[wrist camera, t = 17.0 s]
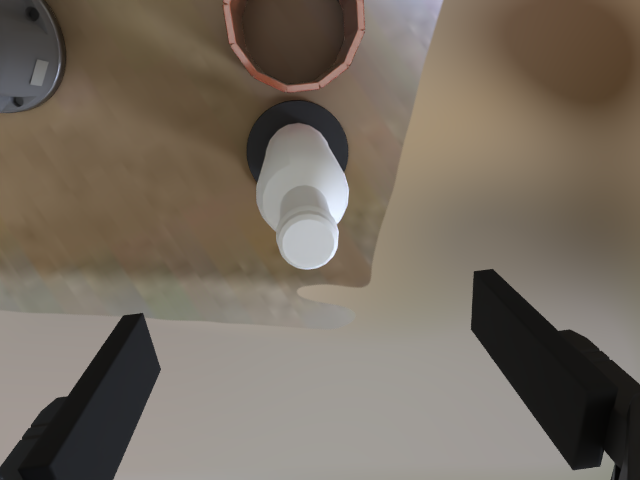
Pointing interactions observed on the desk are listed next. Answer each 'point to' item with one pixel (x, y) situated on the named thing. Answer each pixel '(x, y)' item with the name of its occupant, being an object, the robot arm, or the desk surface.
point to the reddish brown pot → (353, 34)
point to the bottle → (302, 195)
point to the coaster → (290, 115)
